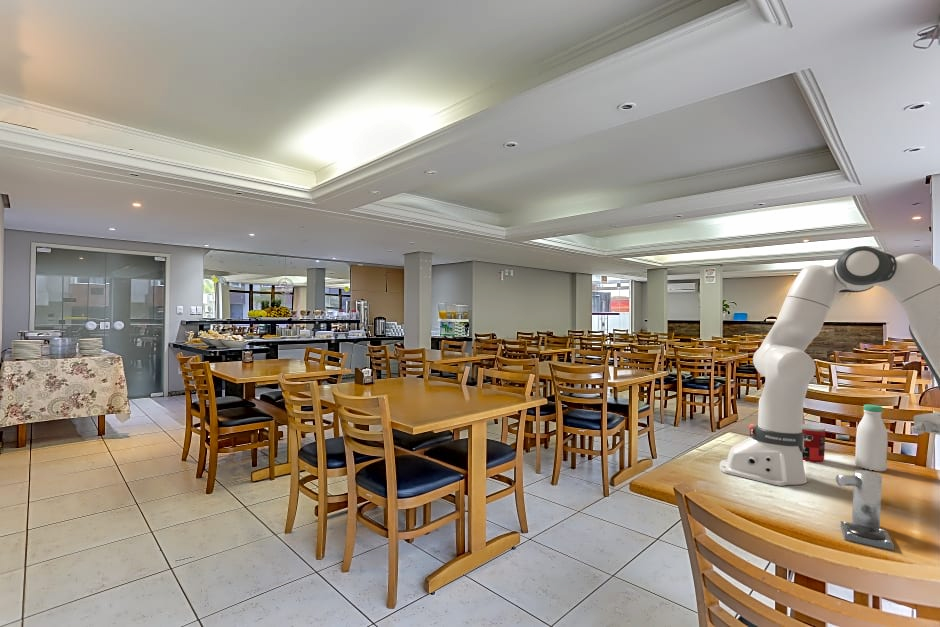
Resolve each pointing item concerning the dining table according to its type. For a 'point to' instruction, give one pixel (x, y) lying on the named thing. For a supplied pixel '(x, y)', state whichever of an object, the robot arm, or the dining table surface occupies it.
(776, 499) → the dining table surface
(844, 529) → the duct flange
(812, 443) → the canned food
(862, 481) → the grey pipe with spout
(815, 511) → the dining table surface
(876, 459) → the milk bottle
